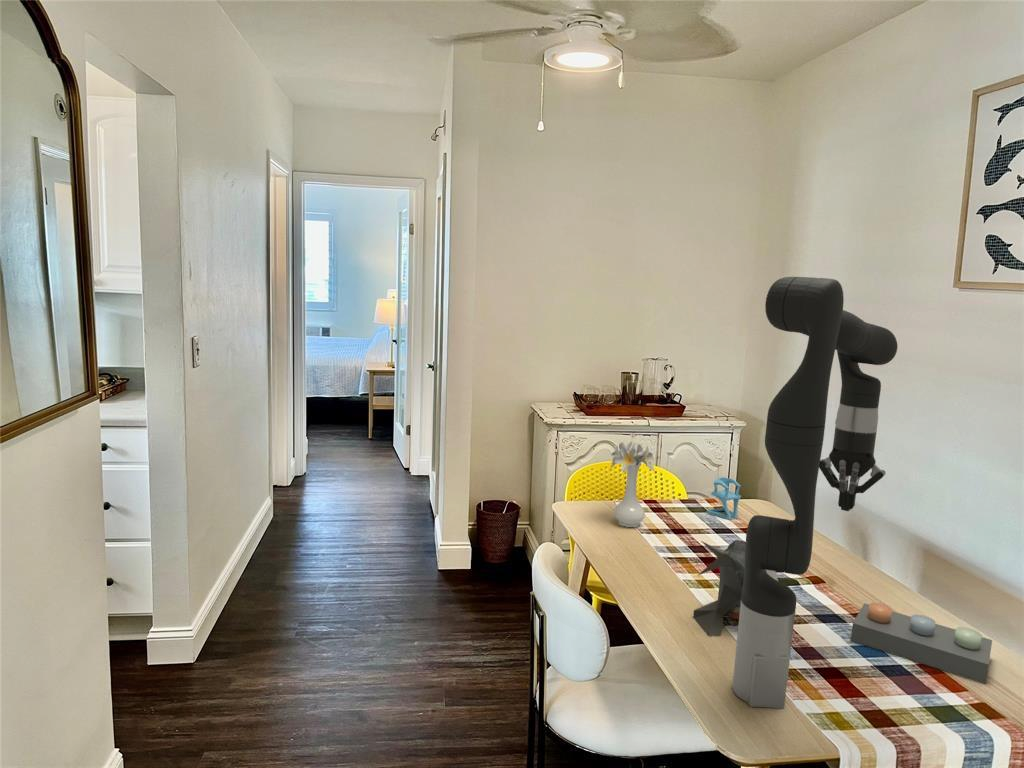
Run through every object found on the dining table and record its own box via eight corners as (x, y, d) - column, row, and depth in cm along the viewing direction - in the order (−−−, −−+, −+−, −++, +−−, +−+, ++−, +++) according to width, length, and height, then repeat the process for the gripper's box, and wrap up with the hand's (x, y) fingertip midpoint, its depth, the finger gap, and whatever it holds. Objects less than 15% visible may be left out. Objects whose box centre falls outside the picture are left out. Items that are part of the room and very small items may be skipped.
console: (989, 658, 145) (992, 640, 144) (985, 683, 135) (988, 664, 134) (861, 619, 159) (864, 603, 158) (850, 640, 149) (852, 623, 149)
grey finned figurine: (776, 634, 151) (785, 554, 148) (708, 636, 148) (716, 555, 145) (745, 602, 165) (752, 529, 162) (682, 604, 162) (689, 530, 159)
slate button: (935, 630, 147) (936, 619, 146) (932, 638, 143) (934, 627, 143) (911, 623, 149) (912, 612, 149) (908, 630, 146) (909, 620, 145)
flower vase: (643, 514, 223) (649, 437, 219) (653, 535, 204) (660, 452, 200) (602, 511, 223) (607, 435, 219) (608, 533, 205) (614, 449, 201)
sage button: (980, 643, 142) (982, 632, 142) (979, 652, 139) (981, 640, 138) (955, 635, 145) (956, 624, 144) (953, 644, 141) (954, 633, 141)
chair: (725, 521, 219) (728, 484, 217) (705, 512, 226) (709, 476, 225) (742, 518, 223) (746, 481, 221) (723, 509, 230) (726, 474, 228)
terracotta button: (892, 617, 151) (893, 607, 151) (888, 625, 148) (890, 614, 148) (869, 611, 154) (871, 600, 154) (865, 618, 150) (867, 607, 150)
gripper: (895, 430, 140) (884, 513, 143) (825, 419, 148) (816, 498, 151) (889, 435, 134) (877, 522, 137) (816, 424, 142) (806, 506, 145)
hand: (845, 509), depth 144 cm, fingers closed
